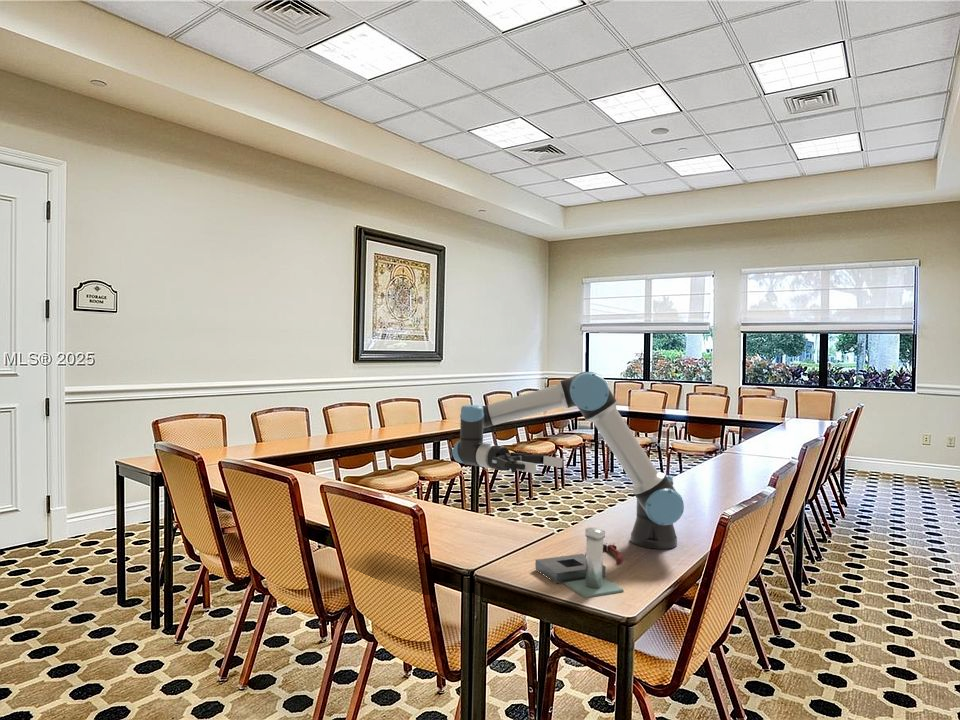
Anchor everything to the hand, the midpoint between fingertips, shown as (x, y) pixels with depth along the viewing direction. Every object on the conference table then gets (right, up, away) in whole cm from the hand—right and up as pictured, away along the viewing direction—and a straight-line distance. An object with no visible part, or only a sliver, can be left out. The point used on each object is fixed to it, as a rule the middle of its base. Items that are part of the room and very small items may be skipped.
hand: (548, 465), depth 182 cm
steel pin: (+10, -30, -16) cm, 35 cm away
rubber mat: (+10, -30, -16) cm, 36 cm away
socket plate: (+6, -30, -5) cm, 31 cm away
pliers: (+21, -31, +13) cm, 40 cm away
